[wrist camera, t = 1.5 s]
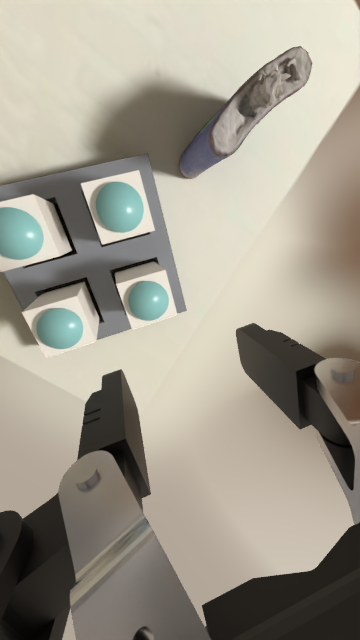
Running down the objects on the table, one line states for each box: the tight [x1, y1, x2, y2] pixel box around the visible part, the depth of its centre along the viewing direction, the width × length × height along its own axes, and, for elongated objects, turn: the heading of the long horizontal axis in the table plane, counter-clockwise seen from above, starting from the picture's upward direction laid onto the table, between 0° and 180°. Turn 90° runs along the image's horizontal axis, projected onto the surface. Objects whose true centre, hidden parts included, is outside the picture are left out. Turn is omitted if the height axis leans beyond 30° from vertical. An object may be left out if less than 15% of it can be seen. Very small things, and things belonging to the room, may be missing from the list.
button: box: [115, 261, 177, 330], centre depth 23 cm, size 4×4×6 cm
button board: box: [0, 153, 187, 340], centre depth 25 cm, size 15×15×3 cm
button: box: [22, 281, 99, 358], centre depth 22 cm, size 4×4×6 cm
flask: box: [179, 46, 312, 179], centre depth 20 cm, size 9×3×11 cm, turn 131°
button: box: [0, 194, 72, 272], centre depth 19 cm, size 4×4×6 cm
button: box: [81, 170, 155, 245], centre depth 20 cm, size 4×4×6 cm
